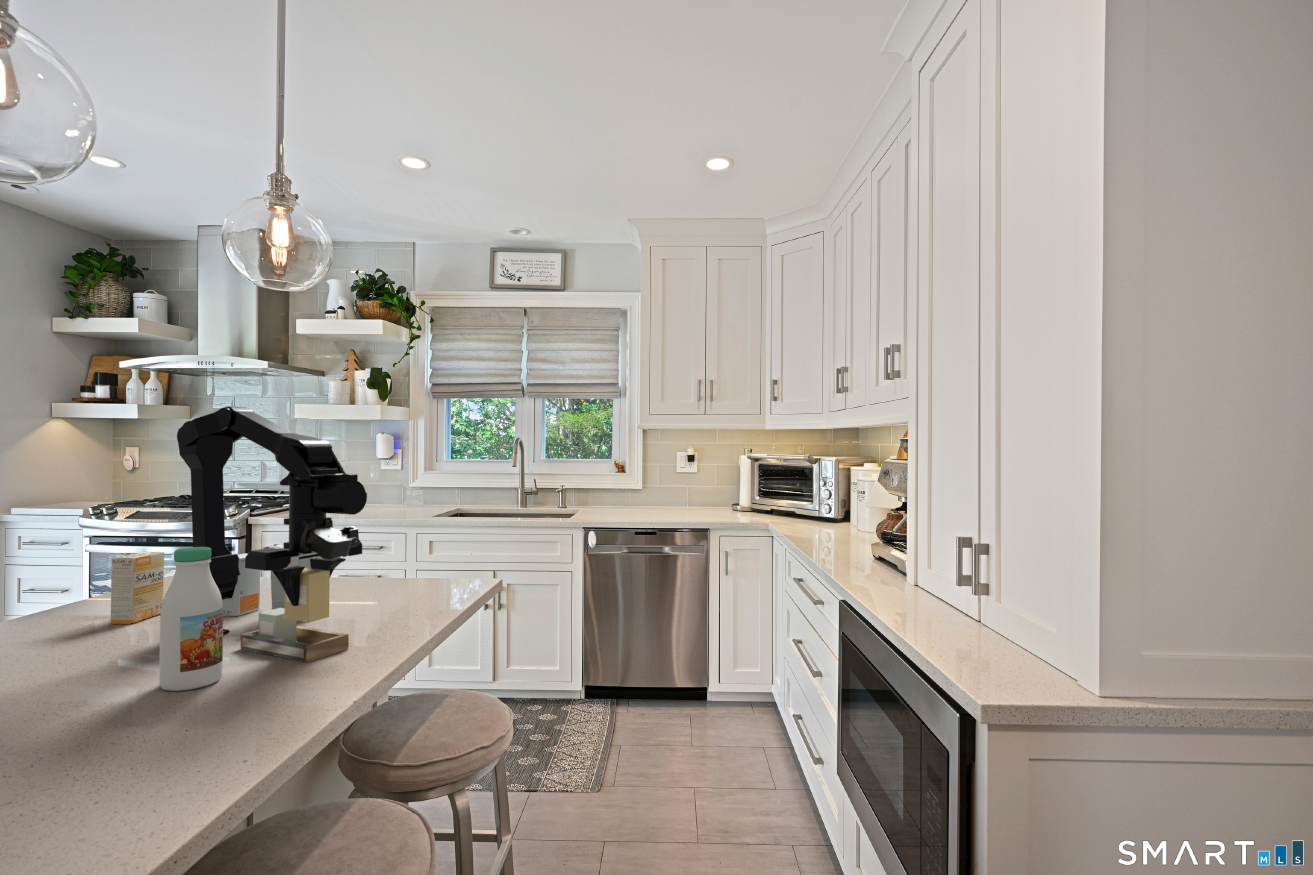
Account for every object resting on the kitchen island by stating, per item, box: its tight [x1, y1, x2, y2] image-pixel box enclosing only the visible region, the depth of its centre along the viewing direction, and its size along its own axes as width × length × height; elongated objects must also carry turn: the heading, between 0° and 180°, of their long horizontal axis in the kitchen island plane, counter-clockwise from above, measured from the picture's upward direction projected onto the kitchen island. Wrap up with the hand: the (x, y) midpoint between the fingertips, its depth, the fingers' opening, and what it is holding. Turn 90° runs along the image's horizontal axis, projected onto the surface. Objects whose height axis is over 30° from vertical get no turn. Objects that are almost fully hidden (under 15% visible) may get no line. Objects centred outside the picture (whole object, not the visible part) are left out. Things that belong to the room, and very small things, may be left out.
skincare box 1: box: [222, 553, 261, 617], centre depth 141 cm, size 6×4×12 cm
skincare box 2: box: [270, 543, 316, 610], centre depth 138 cm, size 8×6×15 cm
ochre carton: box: [284, 568, 331, 623], centre depth 115 cm, size 4×6×8 cm
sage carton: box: [258, 608, 298, 641], centre depth 118 cm, size 4×4×6 cm
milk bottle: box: [159, 546, 224, 692], centre depth 100 cm, size 8×8×20 cm
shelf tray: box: [240, 625, 350, 663], centre depth 116 cm, size 17×8×2 cm, turn 65°
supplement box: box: [110, 551, 165, 625], centre depth 136 cm, size 8×5×13 cm, turn 179°
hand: (307, 602), depth 115 cm, fingers closed on ochre carton, 4 cm apart
